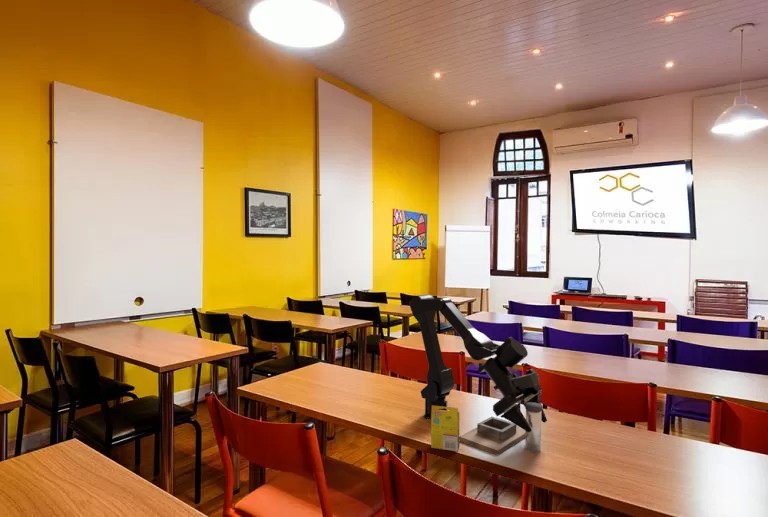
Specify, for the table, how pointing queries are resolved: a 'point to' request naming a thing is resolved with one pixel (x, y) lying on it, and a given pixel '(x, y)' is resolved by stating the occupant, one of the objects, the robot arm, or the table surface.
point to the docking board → (494, 435)
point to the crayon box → (445, 428)
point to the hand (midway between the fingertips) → (538, 426)
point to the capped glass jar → (533, 427)
